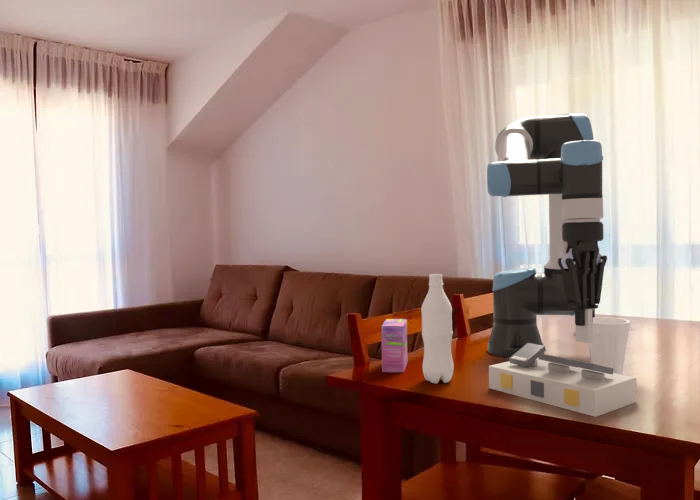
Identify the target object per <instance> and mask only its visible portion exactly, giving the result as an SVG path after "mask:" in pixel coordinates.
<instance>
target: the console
mask: <svg viewBox="0 0 700 500" xmlns="http://www.w3.org/2000/svg"><path fill="white" fill-rule="evenodd" d="M488 388H489V389H491V390H494V391H497V392H501V393H505V394H509V395H513V396H516V397H521V398H525V399H528V400H531V401H535V402H537V403H538V402H539V403H543V404H547V405H551V406H555V407H556V408H557V407H558V408H561V409H565V410H569V411H572V412H576V413H580V414H584V415H587V416H591V417H595V418H597V417H599V416H601V415H605V414H608V413H610V412H613V411H616V410H618V409H621V408H624V407H627V406H629V405H633V404H635V403H637V377H636V376H631V375H625V374H622V375H621V374H616V373H613V375H612V374H607V373H602V372H597V371H592V370H587V369H583V368H579V367H572V366H567V365H562V364H557V363H553V362H548V361H544V360H540V359H539V357H538V358H537V359H536V360H535V361H533V362H532V363H531V364H530V365H529V366H527V367H526V366H521V365H517V364H512V363H510V361H509V360H508V361H504V362H500V363H495V364H492V365H488Z"/></svg>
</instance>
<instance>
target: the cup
mask: <svg viewBox="0 0 700 500" xmlns="http://www.w3.org/2000/svg"><path fill="white" fill-rule="evenodd" d="M630 328H631V321H630V320H628V319H625V318H619V317H605V316H604V317H603V316H601V317H600V316H598V317H596V316H595V318H593V323H592V331H593V342H591V343H587V344H588V345H587V346H588V350H589V355H590V356H589V357H590V363H593V364H596V365H600V366H604V367H609V368H613V369H614V370H613V373H616V374H621V375H623V372H624V364H625V359H626V350H627V344H628V337H629V332H630Z"/></svg>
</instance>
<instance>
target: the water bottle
mask: <svg viewBox="0 0 700 500" xmlns="http://www.w3.org/2000/svg"><path fill="white" fill-rule="evenodd" d="M428 277H429V280H428V282H429V283H428V284H427V285H428V286H429V287H428V290H427V291H428V292H427V294H426V296H425V298H424V299H423V302H422V304H421V308H420V310H421V311H420V312H421V337H422V341H423V351H424V352H423V361H422V374H423V376H424V379H425V380H426V381H427V382H430V383H432V384H438V383H439V382H440V380H442V382H443V383H444V384H446V383H449V382H450V381H451V380H452V377H453V375H454V370H455V369H454V361H453V356H452V340H453V334H454V331H453V319H452V318H453V316H452V314H453V307H452V303H451V302H450V300H449V298H448V297H447V295H446V293H445V290H444V280H443V274H442V273H430V274H429V276H428Z"/></svg>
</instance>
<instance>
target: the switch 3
mask: <svg viewBox="0 0 700 500" xmlns="http://www.w3.org/2000/svg"><path fill="white" fill-rule="evenodd" d="M572 361H573V363H572V366H574V367H579V368H583V369H587V370H592V371H597V372H602V373H607V374H612V375H613V370H614V369H613V368H609V367H604V366H600V365H596V364H593V363H591V362H588V361H582V360H578V359H576V360H575V359H572Z"/></svg>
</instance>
